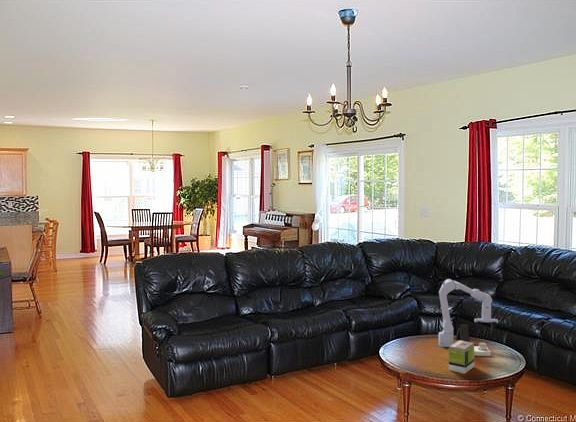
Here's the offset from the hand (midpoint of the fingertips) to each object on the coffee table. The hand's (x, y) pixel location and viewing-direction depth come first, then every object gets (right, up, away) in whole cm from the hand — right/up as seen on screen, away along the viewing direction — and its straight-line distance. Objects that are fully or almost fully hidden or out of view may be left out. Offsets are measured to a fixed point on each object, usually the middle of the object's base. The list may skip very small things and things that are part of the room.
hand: (485, 333), depth 354 cm
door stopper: (-11, -9, +14) cm, 20 cm away
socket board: (-10, -11, -10) cm, 18 cm away
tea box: (-28, -13, -38) cm, 49 cm away
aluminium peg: (-6, -10, -10) cm, 16 cm away
